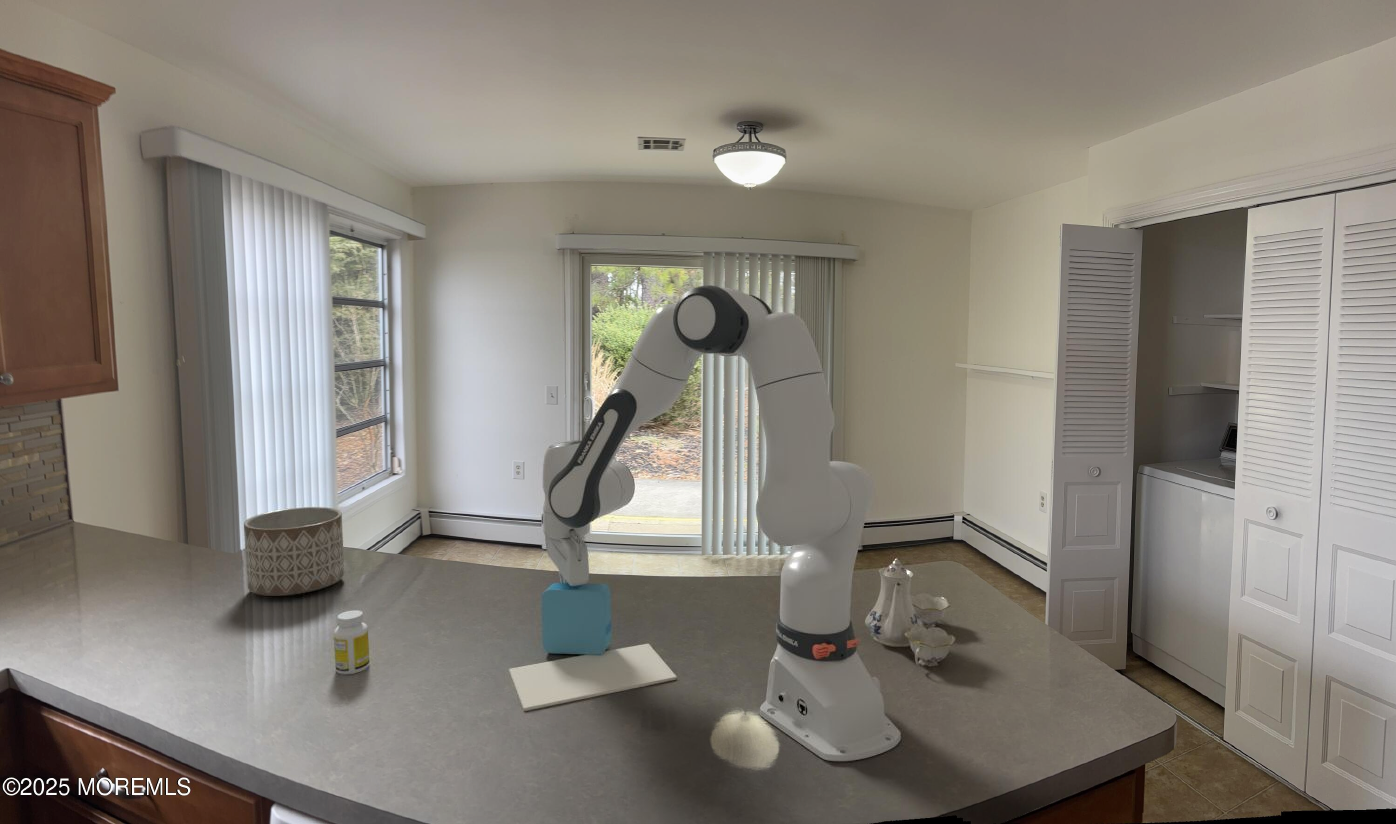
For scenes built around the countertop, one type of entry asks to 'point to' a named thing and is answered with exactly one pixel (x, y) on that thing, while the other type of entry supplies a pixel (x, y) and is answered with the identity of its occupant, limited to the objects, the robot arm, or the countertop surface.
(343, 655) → the supplement bottle
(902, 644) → the chinaware
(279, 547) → the planter
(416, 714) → the countertop surface
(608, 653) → the mat
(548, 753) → the countertop surface
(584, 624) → the data package
